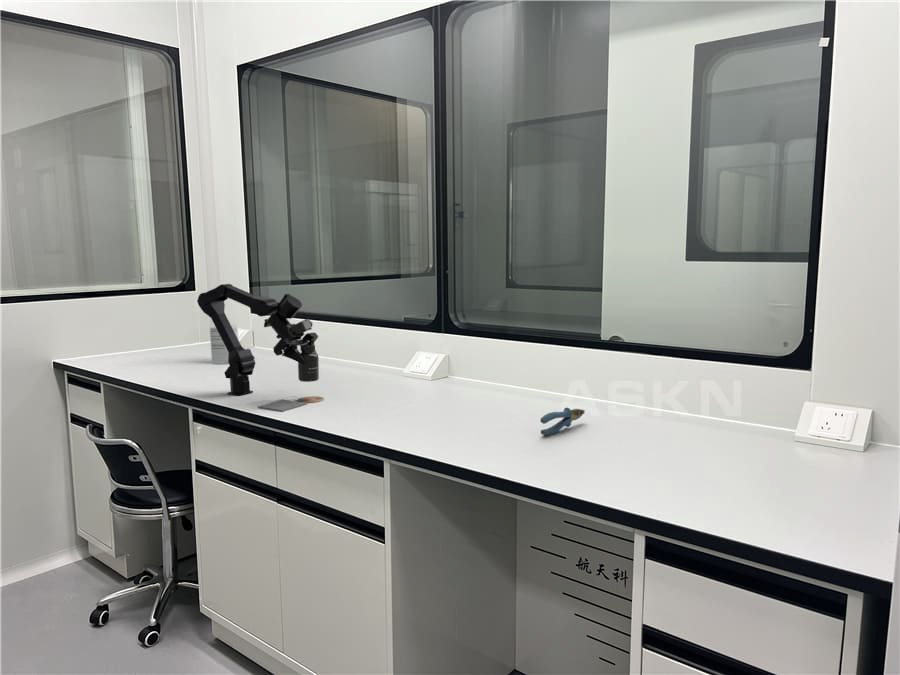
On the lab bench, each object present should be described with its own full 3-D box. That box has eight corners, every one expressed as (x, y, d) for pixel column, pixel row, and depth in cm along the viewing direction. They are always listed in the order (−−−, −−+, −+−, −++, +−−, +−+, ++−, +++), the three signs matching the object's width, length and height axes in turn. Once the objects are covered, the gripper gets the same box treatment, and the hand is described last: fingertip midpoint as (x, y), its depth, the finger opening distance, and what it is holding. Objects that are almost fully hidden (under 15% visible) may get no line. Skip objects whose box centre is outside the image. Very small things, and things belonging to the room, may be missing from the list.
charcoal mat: (258, 407, 218) (257, 406, 218) (282, 400, 227) (282, 399, 227) (282, 411, 212) (282, 410, 212) (306, 404, 222) (306, 403, 222)
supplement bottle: (314, 382, 223) (312, 347, 221) (295, 381, 225) (293, 346, 223) (322, 378, 230) (320, 343, 228) (303, 377, 231) (302, 343, 229)
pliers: (580, 421, 195) (580, 401, 194) (586, 423, 194) (586, 403, 193) (538, 436, 181) (538, 415, 180) (544, 437, 179) (544, 416, 179)
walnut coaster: (291, 401, 227) (291, 400, 227) (309, 395, 234) (309, 395, 234) (311, 404, 222) (311, 403, 222) (329, 398, 230) (329, 398, 230)
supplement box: (221, 360, 312) (219, 324, 310) (240, 360, 311) (238, 324, 308) (211, 364, 302) (209, 327, 300) (230, 364, 301) (228, 327, 299)
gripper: (279, 314, 217) (308, 350, 214) (312, 309, 234) (340, 342, 231) (260, 337, 221) (289, 372, 218) (295, 330, 238) (322, 363, 235)
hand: (311, 361), depth 226 cm, fingers closed on supplement bottle, 7 cm apart
